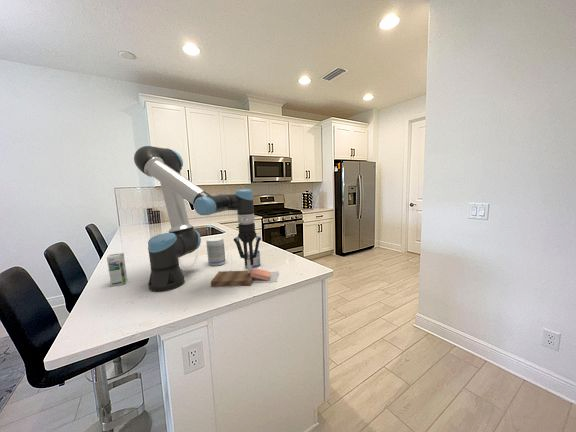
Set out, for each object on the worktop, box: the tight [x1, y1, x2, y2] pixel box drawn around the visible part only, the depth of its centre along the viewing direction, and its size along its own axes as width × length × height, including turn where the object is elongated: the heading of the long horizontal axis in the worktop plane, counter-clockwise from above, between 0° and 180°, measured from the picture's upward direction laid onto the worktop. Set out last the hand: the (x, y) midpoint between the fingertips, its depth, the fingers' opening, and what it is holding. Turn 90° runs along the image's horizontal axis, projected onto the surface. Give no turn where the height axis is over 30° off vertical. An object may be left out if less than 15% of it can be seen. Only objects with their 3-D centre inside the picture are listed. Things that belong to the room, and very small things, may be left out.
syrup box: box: [106, 252, 128, 287], centre depth 112 cm, size 6×6×14 cm
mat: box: [252, 271, 279, 284], centre depth 114 cm, size 11×12×1 cm
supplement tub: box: [206, 236, 226, 267], centre depth 135 cm, size 10×10×15 cm
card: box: [250, 267, 272, 281], centre depth 112 cm, size 9×6×2 cm, turn 89°
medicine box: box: [243, 249, 261, 269], centre depth 129 cm, size 8×4×9 cm, turn 143°
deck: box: [210, 270, 255, 288], centre depth 111 cm, size 18×12×2 cm, turn 89°
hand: (249, 271), depth 112 cm, fingers closed
